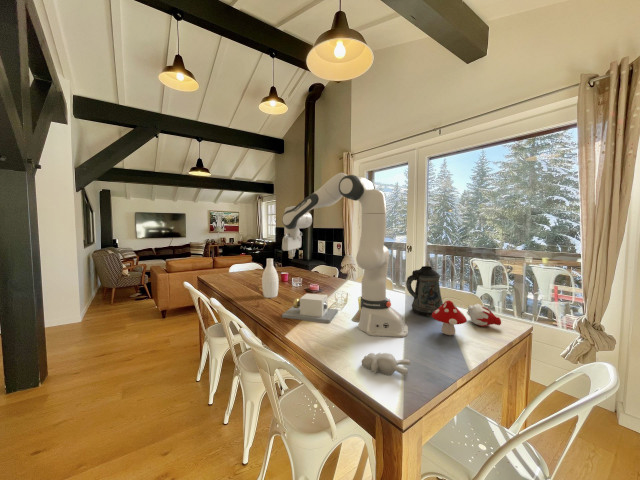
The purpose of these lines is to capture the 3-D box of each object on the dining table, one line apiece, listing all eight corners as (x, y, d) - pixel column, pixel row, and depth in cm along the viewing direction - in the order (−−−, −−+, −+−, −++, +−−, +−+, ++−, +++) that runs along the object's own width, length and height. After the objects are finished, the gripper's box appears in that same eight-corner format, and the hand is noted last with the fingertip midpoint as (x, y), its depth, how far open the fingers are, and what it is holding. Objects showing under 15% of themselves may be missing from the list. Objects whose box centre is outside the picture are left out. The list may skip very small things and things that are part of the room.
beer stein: (450, 313, 136) (451, 267, 135) (429, 321, 125) (430, 271, 124) (423, 305, 150) (423, 263, 148) (401, 311, 139) (402, 266, 137)
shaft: (328, 309, 136) (327, 299, 135) (325, 312, 131) (325, 302, 130) (296, 306, 141) (296, 297, 141) (293, 309, 136) (292, 299, 136)
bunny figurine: (366, 347, 92) (410, 352, 85) (368, 361, 92) (411, 367, 85) (358, 360, 83) (405, 366, 76) (359, 375, 83) (407, 383, 76)
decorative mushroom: (469, 343, 102) (470, 307, 101) (432, 338, 107) (432, 303, 106) (463, 330, 115) (464, 297, 114) (430, 326, 120) (430, 294, 119)
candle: (466, 316, 130) (501, 327, 120) (460, 322, 122) (497, 335, 112) (469, 299, 129) (505, 309, 119) (463, 304, 121) (501, 316, 111)
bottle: (282, 295, 173) (281, 258, 172) (271, 299, 164) (270, 260, 162) (270, 293, 179) (269, 257, 178) (258, 297, 170) (257, 259, 168)
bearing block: (337, 312, 140) (337, 294, 139) (329, 323, 125) (329, 303, 124) (294, 307, 148) (294, 290, 147) (281, 317, 133) (281, 298, 132)
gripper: (289, 234, 140) (289, 259, 141) (303, 233, 159) (303, 254, 160) (279, 234, 142) (279, 258, 143) (294, 232, 161) (294, 254, 162)
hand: (292, 256), depth 152 cm, fingers closed
